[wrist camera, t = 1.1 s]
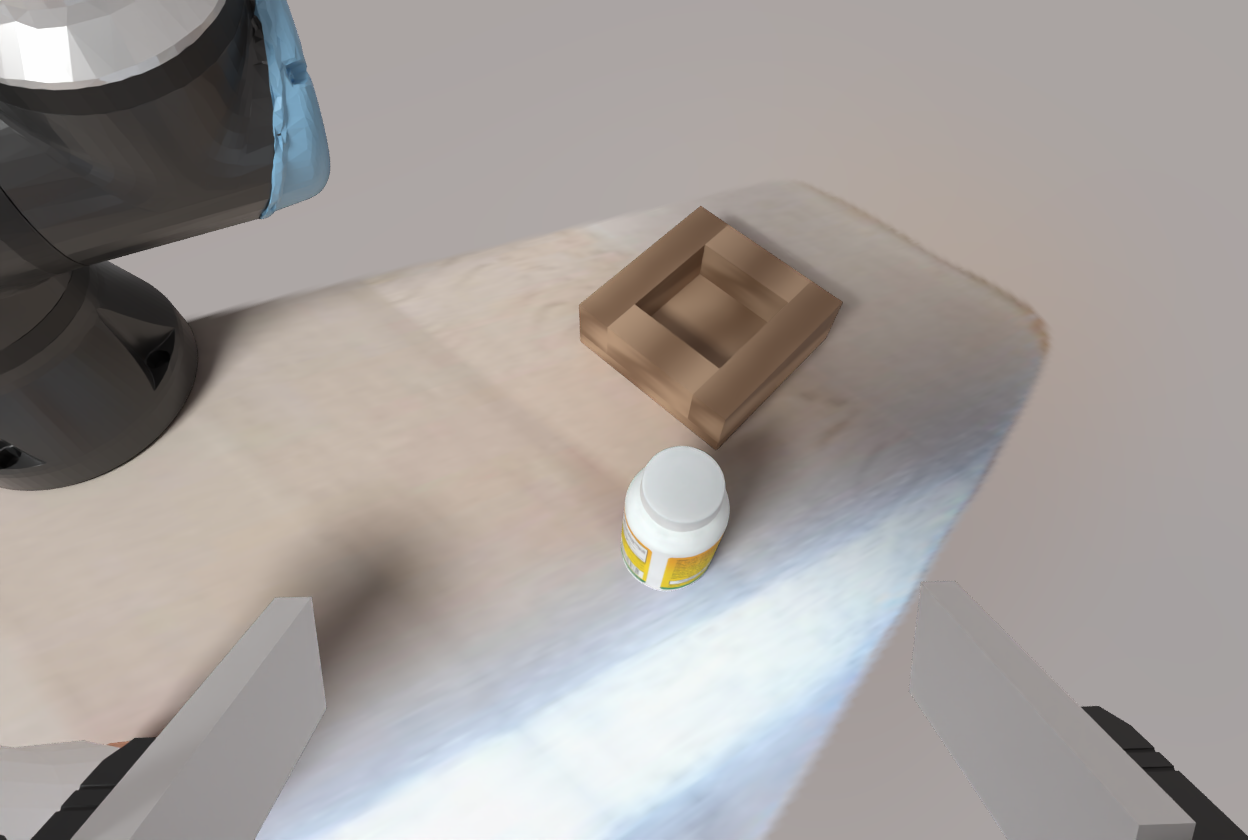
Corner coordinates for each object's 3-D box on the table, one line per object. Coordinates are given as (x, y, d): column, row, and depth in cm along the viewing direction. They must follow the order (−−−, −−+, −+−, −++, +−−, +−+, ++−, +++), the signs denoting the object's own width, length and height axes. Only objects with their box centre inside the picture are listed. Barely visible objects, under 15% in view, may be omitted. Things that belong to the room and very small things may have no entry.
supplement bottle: (607, 574, 42) (608, 512, 34) (639, 493, 44) (648, 417, 36) (695, 607, 41) (720, 553, 33) (723, 524, 44) (752, 453, 35)
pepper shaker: (255, 815, 36) (-51, 811, 19) (122, 958, 33) (-377, 1104, 16) (165, 715, 38) (-183, 631, 21) (33, 842, 35) (-493, 863, 18)
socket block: (580, 341, 50) (578, 304, 46) (694, 245, 54) (700, 205, 51) (716, 450, 46) (725, 419, 43) (825, 337, 50) (842, 302, 47)
